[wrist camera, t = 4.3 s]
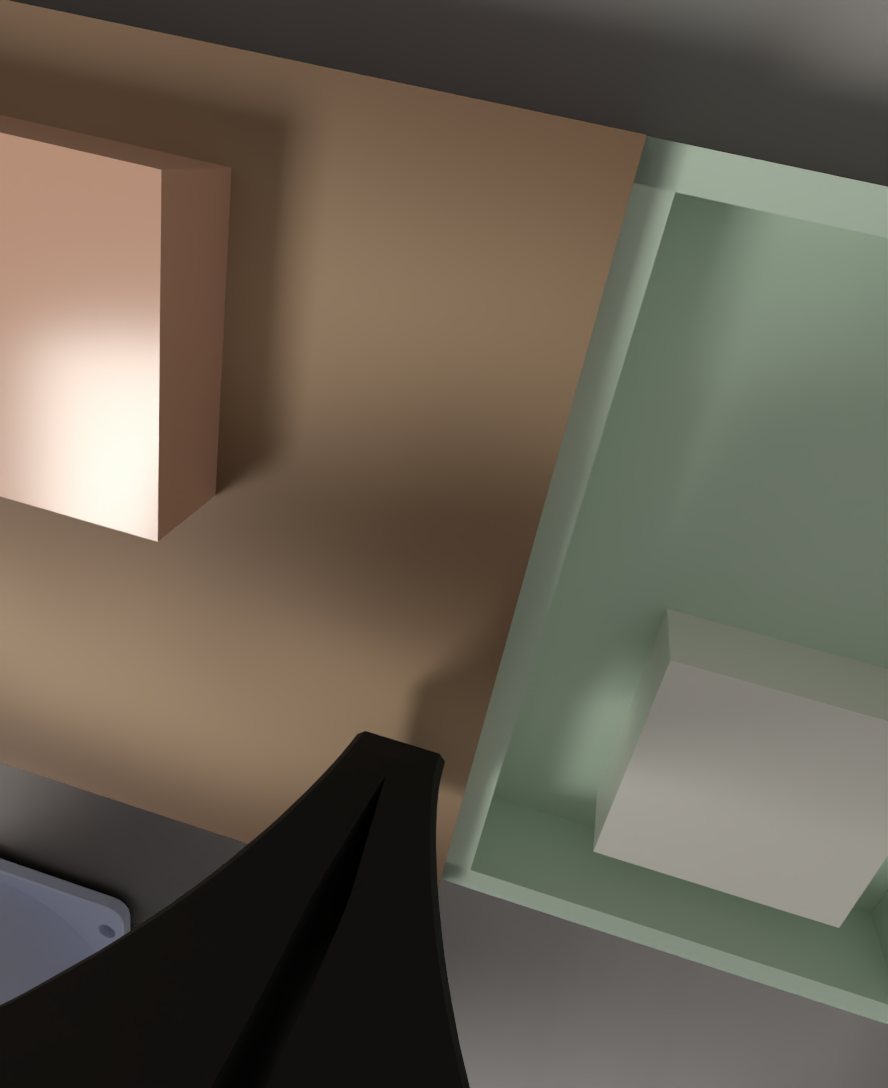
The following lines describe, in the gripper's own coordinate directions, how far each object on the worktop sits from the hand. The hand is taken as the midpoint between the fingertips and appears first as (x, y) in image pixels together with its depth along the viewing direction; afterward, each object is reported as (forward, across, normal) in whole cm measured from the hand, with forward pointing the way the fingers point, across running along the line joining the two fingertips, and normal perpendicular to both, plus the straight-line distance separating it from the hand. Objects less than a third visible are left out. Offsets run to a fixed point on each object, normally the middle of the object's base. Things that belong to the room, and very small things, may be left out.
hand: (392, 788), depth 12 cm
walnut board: (+4, +4, -3) cm, 7 cm away
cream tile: (+2, -6, 0) cm, 6 cm away
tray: (+4, -6, -3) cm, 7 cm away
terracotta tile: (+1, +6, -6) cm, 8 cm away
